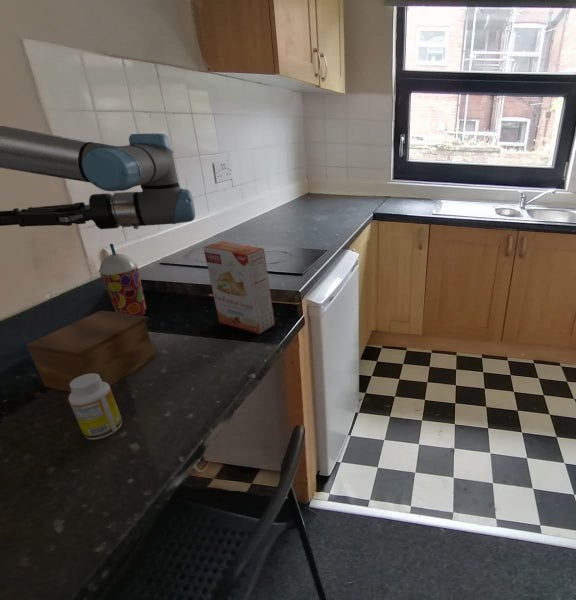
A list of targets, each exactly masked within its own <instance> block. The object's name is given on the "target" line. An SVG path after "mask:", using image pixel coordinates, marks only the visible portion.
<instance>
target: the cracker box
mask: <svg viewBox="0 0 576 600" xmlns="http://www.w3.org/2000/svg"><path fill="white" fill-rule="evenodd" d="M202 248H203V251H204V257H205V262H206V267H207V270H208V276H209V279H210V280H209V281H210V284H211V291H212V294H213V299H214V304H215V309H216V314H217V317H218V322H219V324H223V325H226V326H230V327H234V328H237V329H240V330H244V331H247V332H251V333H255V334H258V335H261V334H262V333H264V332H266V331H267V330H269V329H271V328H272V327H274V326H275V325H276V322H275V321H276V320H275V315H274V308H273V303H272V295H271V287H270V280H269V274H268V273H269V272H268V267H267V260H266V253H265V248H264V247H258V246H251V245H247V244H240V243H235V242H229V241H224V240H221V241H217V242H214V243H211V244H208V245H205V246H203V247H202Z"/></svg>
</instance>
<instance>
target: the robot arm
mask: <svg viewBox="0 0 576 600" xmlns="http://www.w3.org/2000/svg"><path fill="white" fill-rule="evenodd" d="M128 142H129V145H111V144H106V143H105V144H104V143H99V142H94V141H89V140H84V139H78V138H72V137H67V136H61V135H55V134H49V133H44V132H39V131H33V130H27V129H22V128H16V127H10V126H6V125H4V126H0V169H6V170H11V171H16V172H24V173H29V174H35V175H41V176H48V177H54V178H61V179H66V180H71V181H78V182H83V183H90V184H92V185H93V186H95V187H97V188H98V189H100V190H101V191H102V190H103V191H105V192H114V193H113V194H111V193H93V194H91V195H90V196H89V198H88V204H86V203H85V202H83V201H79V202H74V203H66V204H57V205H56V204H55V205H43V206H29V207H27V208H22V209H20V208H19V207H17V208H13V209H11V210H0V227H3V226H4V227H5V226H16V225H17V226H19V227H22V228H25V227H44V226H45V227H47V226H49V227H50V226H51V227H53V226H62V227H63V226H65V227H70V226H73V224H75V225H84V224H86V223H87V222H89V221H92V222H93V223H94V225H95V226H96V227H97V228H98V229H100V230H112V229H118V228H120V227H121V228H131V227H133V229H134V230H138V229H139V227H146V226H147V227H149V226H161V225H176V224H182V223H191V222H193V221H194V220H195V218H196V210H195V204H194V200H193V196H192V192H191V191H190V190H189V189H187V188H181V185H180V182H179V178H178V174H177V168H176V163H175V159H174V151H173V149H172V148H171V147H172V146H171V143H170V139H169V137H168V136H167V135H166V134H164V133H131V134H129V136H128ZM138 186H140V189H141V191H129V190H130V189H132V188H135V187H138ZM127 190H128V191H127Z"/></svg>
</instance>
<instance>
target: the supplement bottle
mask: <svg viewBox="0 0 576 600" xmlns="http://www.w3.org/2000/svg"><path fill="white" fill-rule="evenodd" d="M70 388H71V392H70V394H68V399H67V400H68V403H69V405H70V407H71V409H72V412H73V414H74V416H75V420H76V421H77V424H78V426H79V428H80V430H81V433H82V436H83V437H84V438H85V439H88V440H92V441H94V440H95V441H96V440H103V439H105V438H107V437H109V436H111V435H113V434H115V433H116V432H117V431H119V429H120V428H121V427H122V425H123V418H122V415H121V412H120V409H119V407H118V404H117V402H116V399H115V397H114V394H113V391H112V388H111V387H110V386H109V384H108V383H106V382H102V380H101V378H100V376H99V375H98V374H94V373H92V374H85V375H82V376H79V377H77V378H75V379H74V380H72V381H71V382H70Z"/></svg>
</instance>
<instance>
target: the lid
mask: <svg viewBox="0 0 576 600" xmlns="http://www.w3.org/2000/svg"><path fill="white" fill-rule="evenodd" d="M148 321H149V317H148V316H145V315H143V316H139V315H131V314H124V313H117V312H116V311H109V310H102V309H101V310H99V311H96V312H95V313H91V314H90V315H88V316H86V317H83V318H81V319H79V320H76V321H75V322H72V323H71V324H68V325H66V326H64V327H61V328H59V329H56V330H55V331H53V332H51V333H48V334H46V335H44V336H42V337H40V338H38V339H35V340H33V341H31V342H29V343H27V344H26V348H27V349H35V350H41V351H47V352H52V353H58V354H64V355H70V356H76V357H81V356H83V355H85V354H87V353H89V352H91V351H92V350H94V349H96V348H98V347H100V346H102V345H103V344H105V343H107V342H109V341H111V340H113V339H115V338H116V337H118V336H120V335H122V334H124V333H126V332H127V331H129V330H131V329H133V328H135V327H137V326H138V325H140V324H142V323H144V322H145V323H147V322H148Z"/></svg>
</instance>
